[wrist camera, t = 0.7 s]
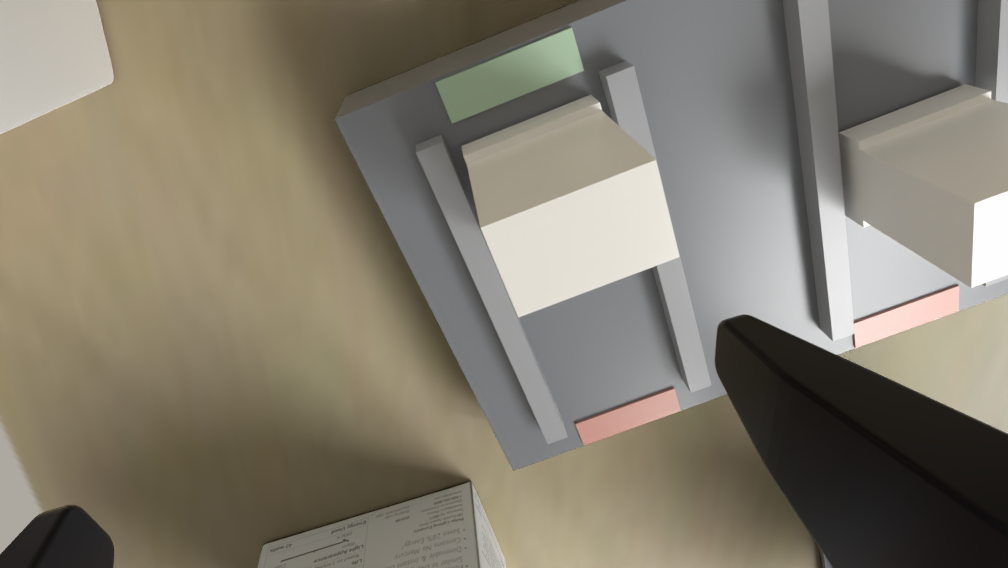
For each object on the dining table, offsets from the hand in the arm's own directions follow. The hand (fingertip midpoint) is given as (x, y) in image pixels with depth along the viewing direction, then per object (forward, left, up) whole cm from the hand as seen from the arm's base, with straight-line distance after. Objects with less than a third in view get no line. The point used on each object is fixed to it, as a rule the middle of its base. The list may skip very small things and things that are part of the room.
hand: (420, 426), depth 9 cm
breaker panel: (-5, -9, -14) cm, 17 cm away
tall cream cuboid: (-1, -3, -11) cm, 12 cm away
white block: (-5, -14, -11) cm, 19 cm away
